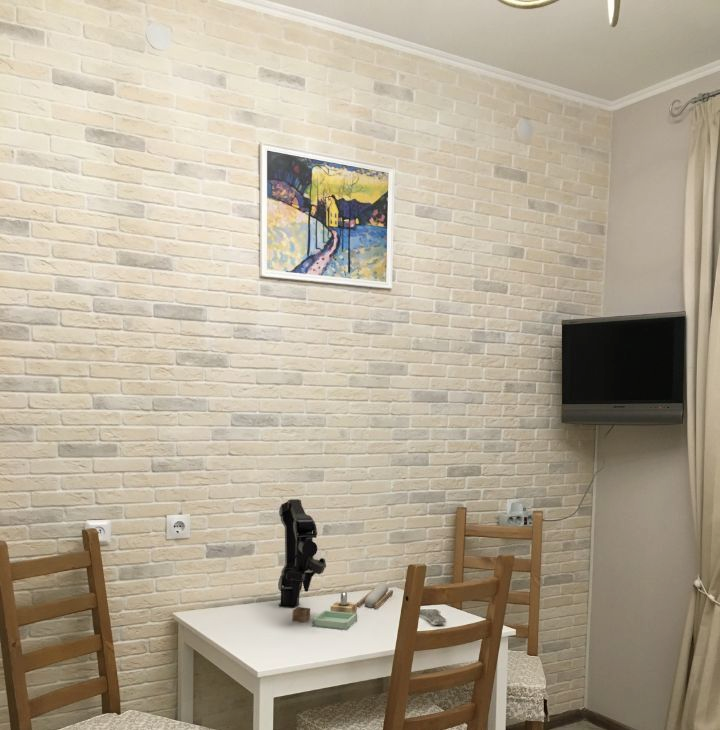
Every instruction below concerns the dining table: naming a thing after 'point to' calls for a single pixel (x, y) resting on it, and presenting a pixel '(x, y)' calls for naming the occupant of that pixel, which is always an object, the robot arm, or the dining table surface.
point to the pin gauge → (343, 599)
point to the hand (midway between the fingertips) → (302, 594)
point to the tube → (376, 594)
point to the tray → (334, 620)
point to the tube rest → (378, 601)
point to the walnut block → (301, 614)
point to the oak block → (344, 607)
